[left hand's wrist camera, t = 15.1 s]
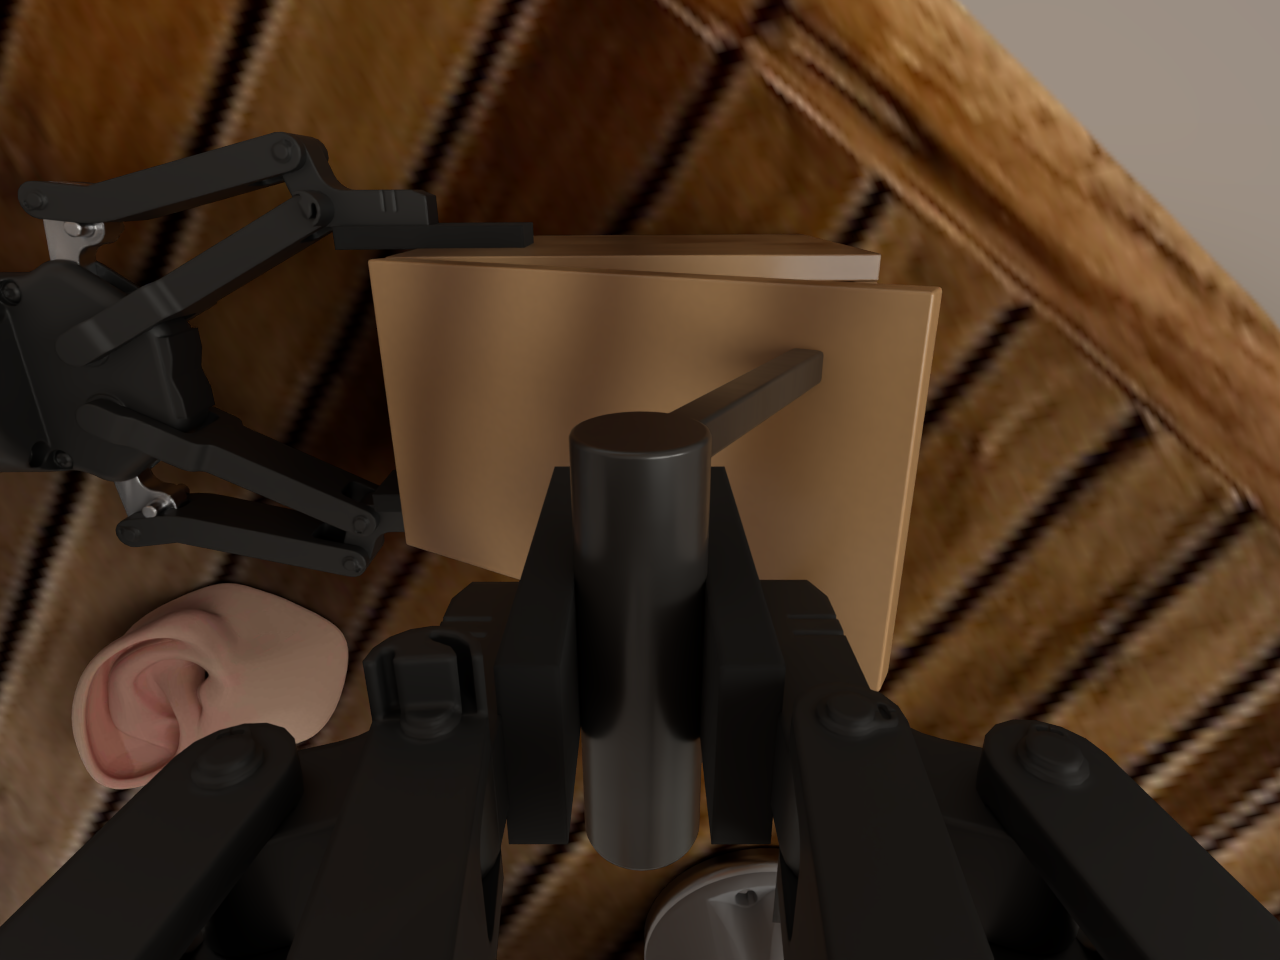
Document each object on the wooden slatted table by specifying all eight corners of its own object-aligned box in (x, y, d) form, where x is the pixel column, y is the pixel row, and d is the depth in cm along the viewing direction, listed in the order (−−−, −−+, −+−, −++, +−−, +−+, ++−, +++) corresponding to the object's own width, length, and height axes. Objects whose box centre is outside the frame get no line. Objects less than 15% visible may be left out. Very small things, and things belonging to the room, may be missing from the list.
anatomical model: (313, 631, 35) (332, 814, 39) (344, 588, 39) (358, 760, 43) (26, 614, 34) (77, 801, 39) (85, 572, 38) (125, 748, 42)
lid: (943, 286, 15) (791, 380, 7) (888, 672, 18) (747, 992, 11) (391, 257, 22) (49, 290, 15) (425, 534, 25) (161, 669, 18)
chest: (802, 234, 32) (882, 253, 22) (788, 432, 36) (851, 529, 25) (463, 236, 32) (384, 257, 22) (481, 434, 36) (419, 533, 25)
